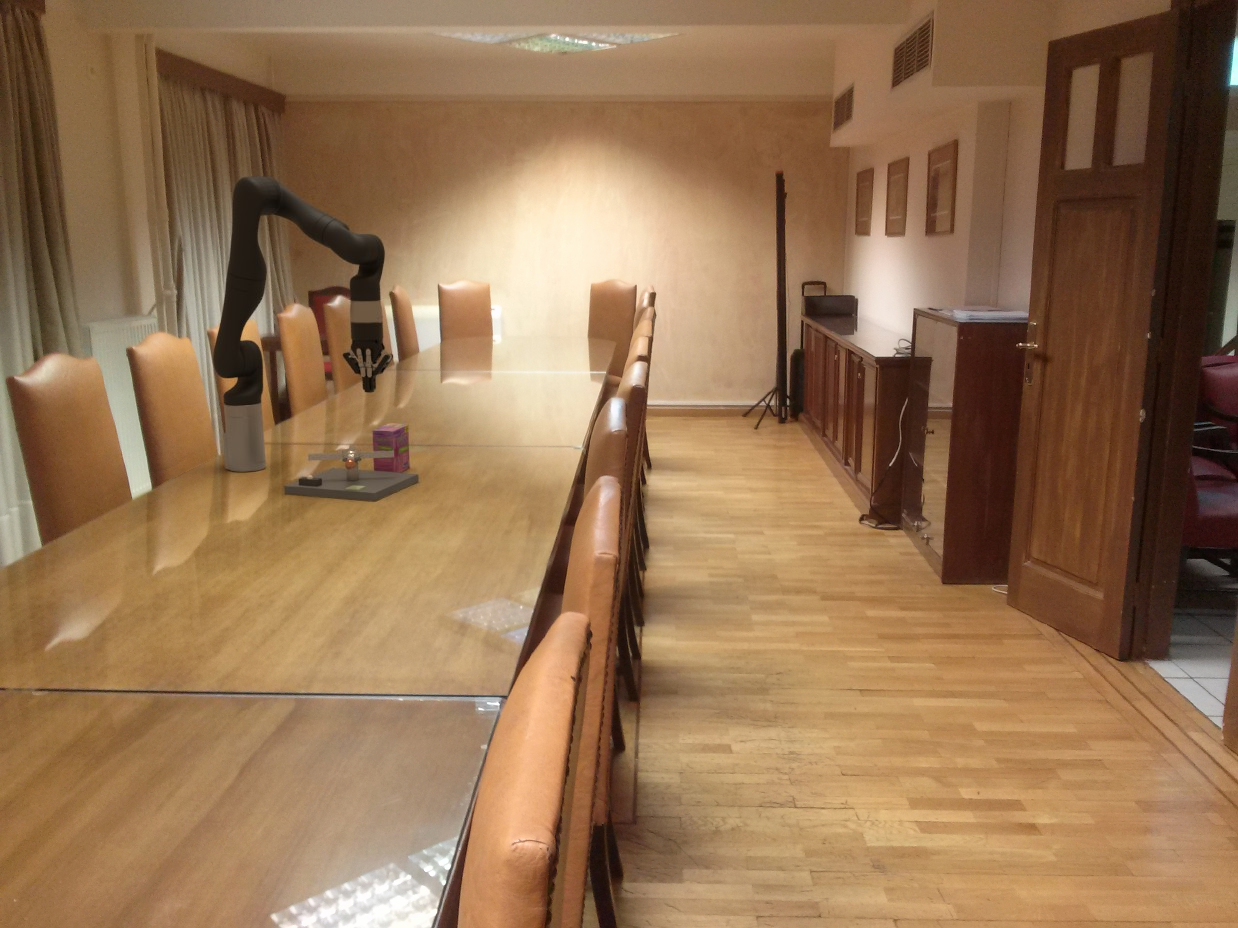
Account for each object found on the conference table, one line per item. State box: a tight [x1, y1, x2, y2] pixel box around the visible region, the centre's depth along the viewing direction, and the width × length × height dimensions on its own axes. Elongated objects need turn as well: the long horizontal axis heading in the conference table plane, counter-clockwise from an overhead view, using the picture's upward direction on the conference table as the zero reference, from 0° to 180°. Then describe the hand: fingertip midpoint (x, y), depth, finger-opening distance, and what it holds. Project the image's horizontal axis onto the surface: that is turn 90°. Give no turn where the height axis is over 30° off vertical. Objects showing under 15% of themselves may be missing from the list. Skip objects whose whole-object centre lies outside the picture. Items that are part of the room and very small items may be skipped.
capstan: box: [307, 444, 394, 470], centre depth 258 cm, size 22×20×2 cm
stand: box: [284, 461, 420, 502], centre depth 260 cm, size 24×21×6 cm
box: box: [372, 422, 411, 473], centre depth 277 cm, size 10×6×12 cm, turn 168°
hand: (369, 392), depth 260 cm, fingers closed
